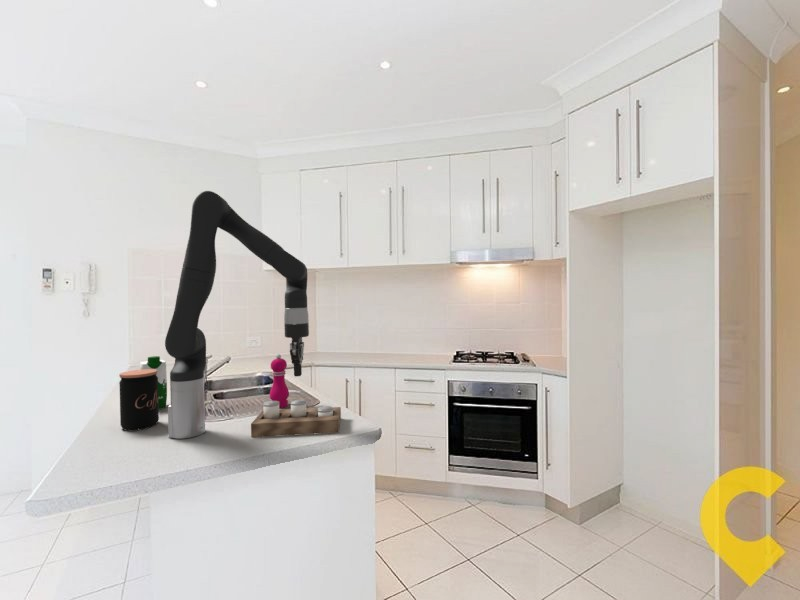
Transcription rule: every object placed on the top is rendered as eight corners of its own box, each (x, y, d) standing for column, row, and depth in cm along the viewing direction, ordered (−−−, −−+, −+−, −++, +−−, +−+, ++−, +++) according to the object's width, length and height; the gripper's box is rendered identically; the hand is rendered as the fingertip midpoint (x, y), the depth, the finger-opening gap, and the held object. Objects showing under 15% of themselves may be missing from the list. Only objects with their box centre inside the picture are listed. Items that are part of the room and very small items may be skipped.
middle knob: (289, 419, 124) (289, 403, 124) (292, 415, 129) (291, 399, 129) (305, 419, 125) (305, 403, 125) (307, 414, 129) (307, 399, 129)
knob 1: (261, 421, 123) (261, 405, 123) (265, 416, 128) (265, 401, 128) (277, 420, 124) (277, 404, 124) (281, 415, 129) (280, 400, 129)
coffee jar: (136, 432, 125) (135, 375, 125) (112, 429, 128) (111, 374, 128) (166, 422, 135) (165, 369, 135) (143, 419, 138) (142, 368, 138)
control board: (251, 437, 119) (250, 423, 119) (262, 422, 133) (262, 410, 132) (338, 432, 121) (338, 419, 121) (340, 418, 135) (340, 406, 135)
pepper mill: (283, 409, 148) (282, 355, 148) (266, 408, 150) (265, 355, 150) (292, 403, 155) (291, 353, 155) (275, 403, 157) (274, 353, 157)
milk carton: (142, 412, 147) (140, 359, 147) (139, 407, 154) (137, 356, 154) (169, 407, 153) (167, 356, 153) (165, 403, 160) (163, 354, 160)
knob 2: (317, 426, 125) (316, 410, 125) (318, 421, 130) (318, 406, 130) (332, 425, 125) (332, 410, 125) (333, 421, 130) (333, 406, 130)
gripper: (288, 321, 133) (289, 372, 133) (280, 323, 120) (281, 380, 120) (311, 320, 134) (312, 371, 134) (305, 323, 120) (306, 379, 120)
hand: (297, 375), depth 127 cm, fingers closed
